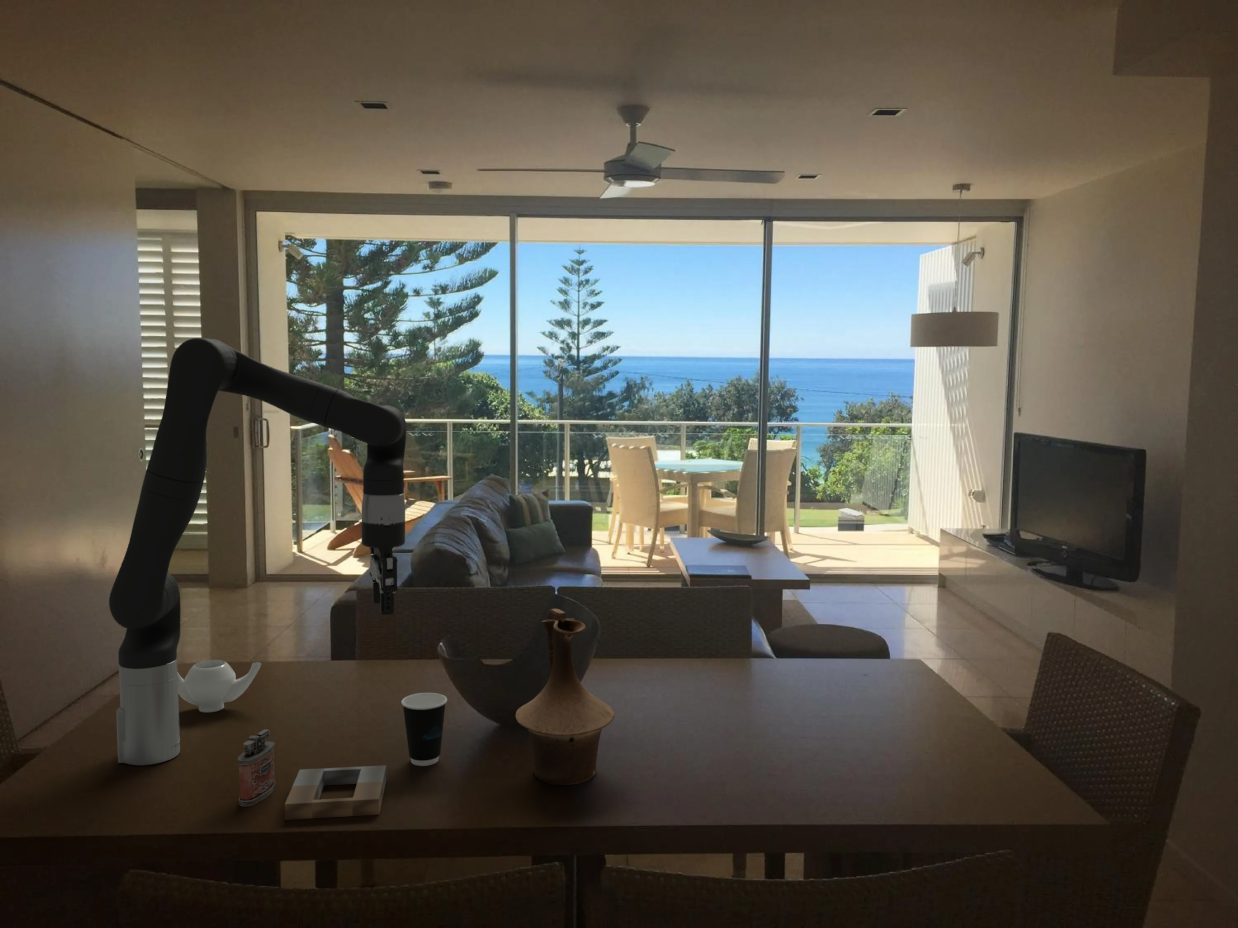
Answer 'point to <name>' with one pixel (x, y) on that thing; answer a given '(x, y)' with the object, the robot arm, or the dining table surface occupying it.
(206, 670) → the teapot
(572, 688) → the pitcher
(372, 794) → the tan flat square frame
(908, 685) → the dining table surface
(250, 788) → the lighter
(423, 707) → the dixie cup
